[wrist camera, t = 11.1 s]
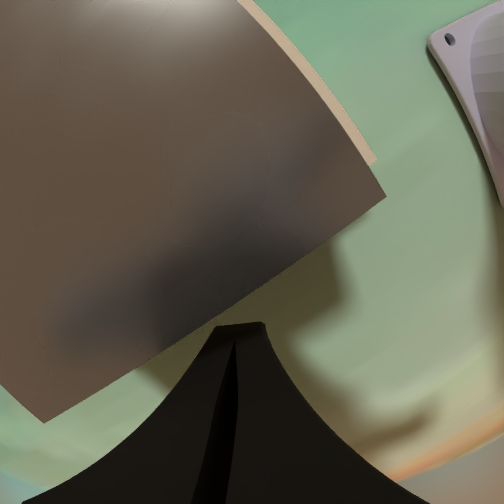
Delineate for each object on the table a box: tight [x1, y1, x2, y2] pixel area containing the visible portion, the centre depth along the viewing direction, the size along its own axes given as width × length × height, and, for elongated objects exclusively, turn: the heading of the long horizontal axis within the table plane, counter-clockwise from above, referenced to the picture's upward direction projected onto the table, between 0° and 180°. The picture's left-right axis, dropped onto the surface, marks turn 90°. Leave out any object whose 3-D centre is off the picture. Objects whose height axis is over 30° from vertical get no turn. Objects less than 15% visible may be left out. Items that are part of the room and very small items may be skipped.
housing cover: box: [0, 0, 387, 423], centre depth 5 cm, size 9×9×4 cm
